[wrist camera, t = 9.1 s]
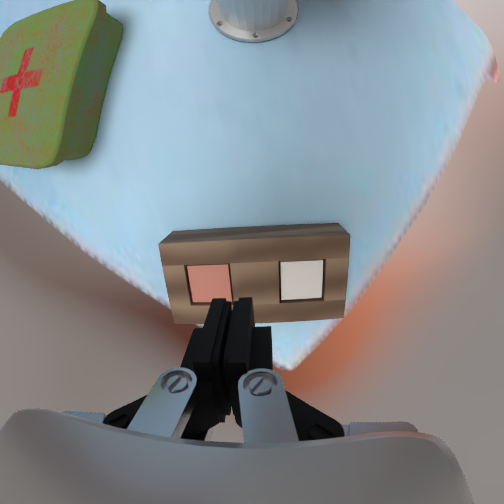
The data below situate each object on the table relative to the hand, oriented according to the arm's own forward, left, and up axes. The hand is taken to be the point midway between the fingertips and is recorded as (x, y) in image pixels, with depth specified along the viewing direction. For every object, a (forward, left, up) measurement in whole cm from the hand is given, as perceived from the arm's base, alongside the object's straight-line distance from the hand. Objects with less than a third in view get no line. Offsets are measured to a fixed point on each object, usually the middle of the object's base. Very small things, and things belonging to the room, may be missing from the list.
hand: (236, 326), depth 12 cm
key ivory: (+9, +6, -27) cm, 29 cm away
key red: (+9, -6, -27) cm, 29 cm away
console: (+9, 0, -28) cm, 29 cm away
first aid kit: (-25, -33, -29) cm, 51 cm away
